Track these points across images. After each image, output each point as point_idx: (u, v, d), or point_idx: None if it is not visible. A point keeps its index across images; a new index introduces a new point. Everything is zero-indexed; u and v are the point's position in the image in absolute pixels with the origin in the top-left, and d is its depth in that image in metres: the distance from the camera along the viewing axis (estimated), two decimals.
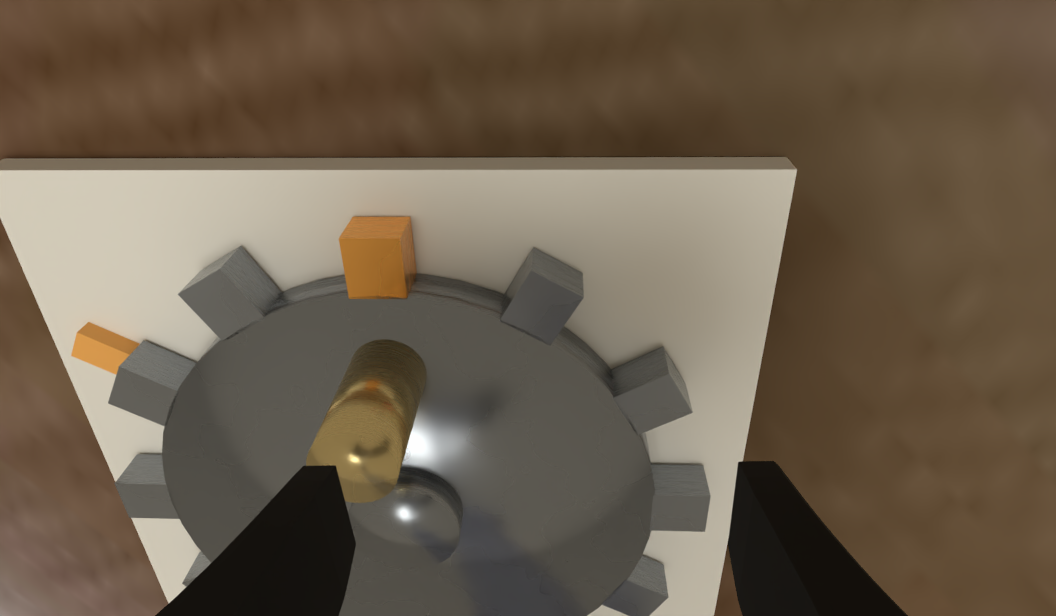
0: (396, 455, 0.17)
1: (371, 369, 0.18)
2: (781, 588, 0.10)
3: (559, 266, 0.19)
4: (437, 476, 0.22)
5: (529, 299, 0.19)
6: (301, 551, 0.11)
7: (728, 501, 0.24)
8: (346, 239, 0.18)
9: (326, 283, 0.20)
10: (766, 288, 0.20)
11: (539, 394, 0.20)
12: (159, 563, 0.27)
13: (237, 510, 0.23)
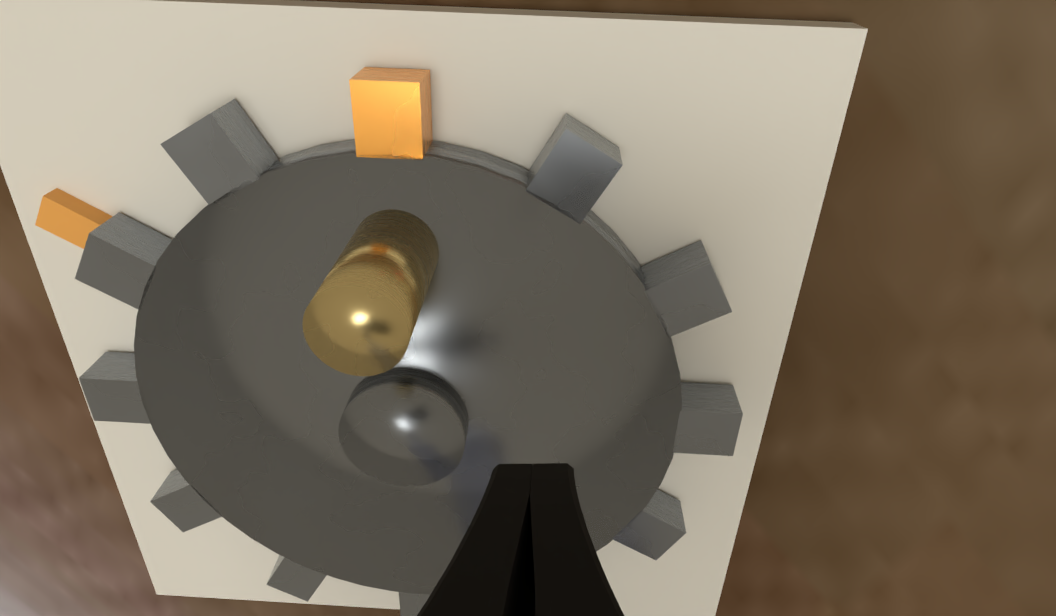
0: (407, 318, 0.14)
1: (379, 233, 0.16)
2: None
3: (594, 134, 0.17)
4: (442, 380, 0.20)
5: (561, 164, 0.17)
6: (524, 551, 0.11)
7: (756, 428, 0.22)
8: (358, 81, 0.16)
9: (330, 146, 0.18)
10: (820, 174, 0.18)
11: (563, 283, 0.18)
12: (125, 484, 0.25)
13: (216, 415, 0.21)
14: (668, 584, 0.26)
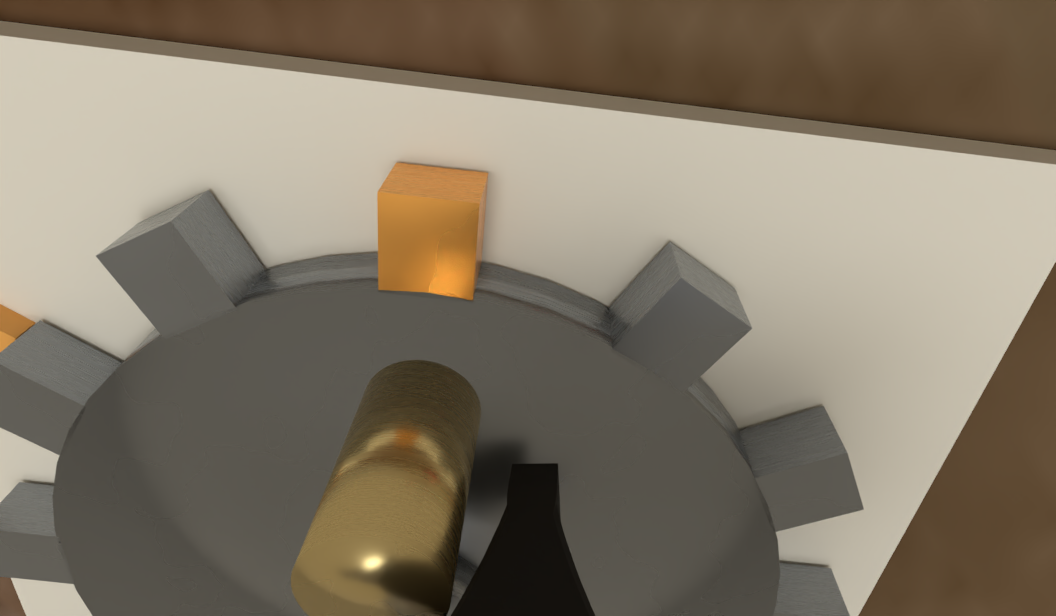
0: (450, 574, 0.10)
1: (407, 411, 0.11)
2: None
3: (708, 275, 0.12)
4: (467, 561, 0.15)
5: (667, 322, 0.12)
6: None
7: None
8: (390, 195, 0.11)
9: (339, 263, 0.13)
10: (997, 343, 0.13)
11: (645, 463, 0.13)
12: None
13: (162, 581, 0.16)
14: None
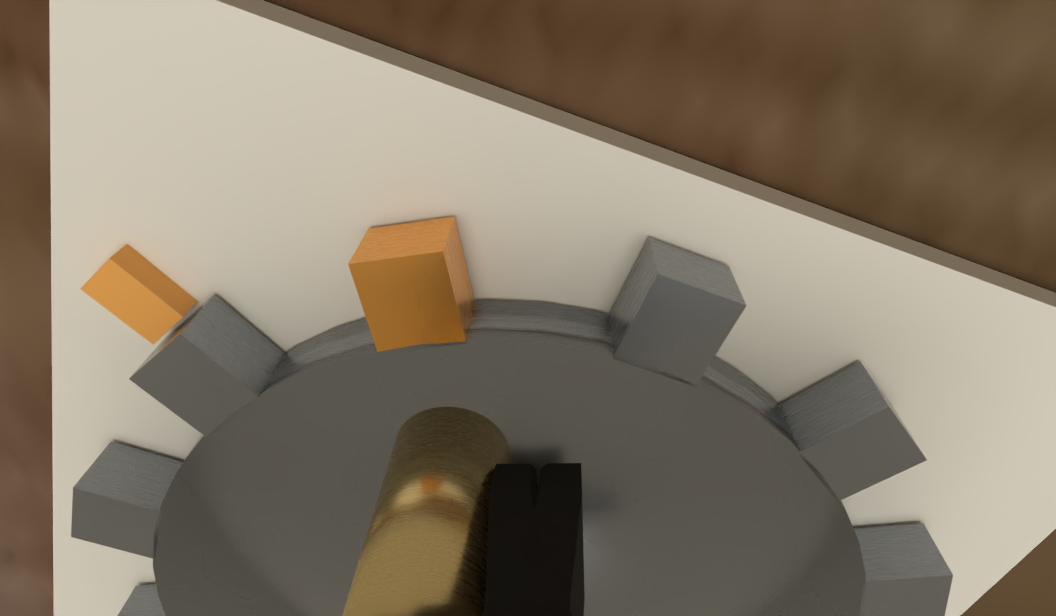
0: None
1: (425, 461, 0.12)
2: None
3: (694, 261, 0.12)
4: None
5: (658, 319, 0.12)
6: (579, 551, 0.11)
7: None
8: (360, 264, 0.11)
9: (344, 333, 0.13)
10: None
11: (683, 459, 0.13)
12: (66, 588, 0.18)
13: None
14: None
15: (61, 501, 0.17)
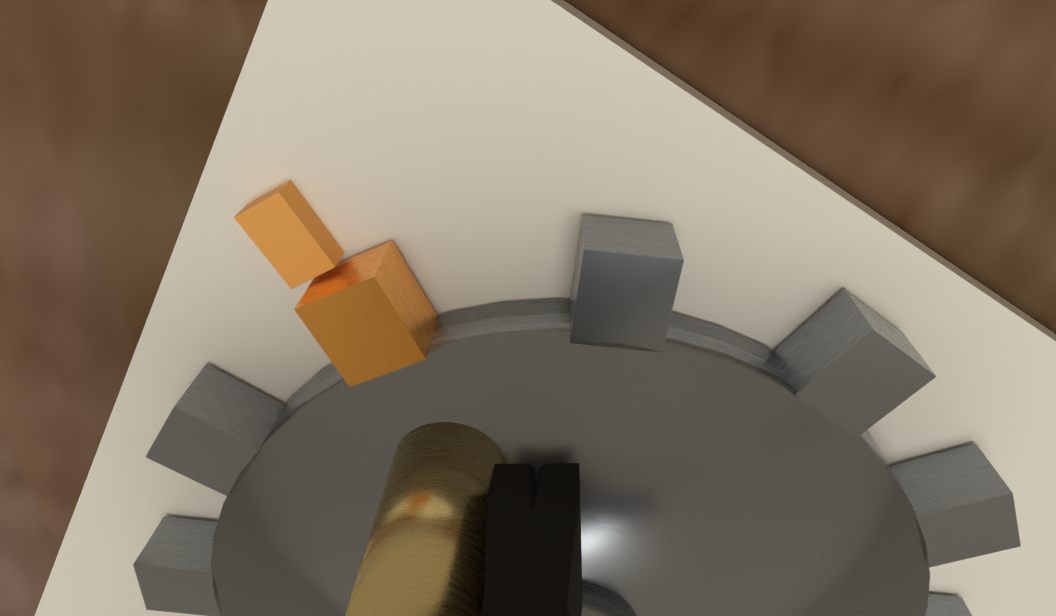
0: None
1: (408, 480, 0.12)
2: None
3: (630, 227, 0.12)
4: None
5: (601, 294, 0.11)
6: (576, 551, 0.11)
7: None
8: (305, 306, 0.12)
9: (326, 374, 0.14)
10: None
11: (676, 428, 0.13)
12: (85, 522, 0.17)
13: None
14: None
15: (114, 431, 0.16)
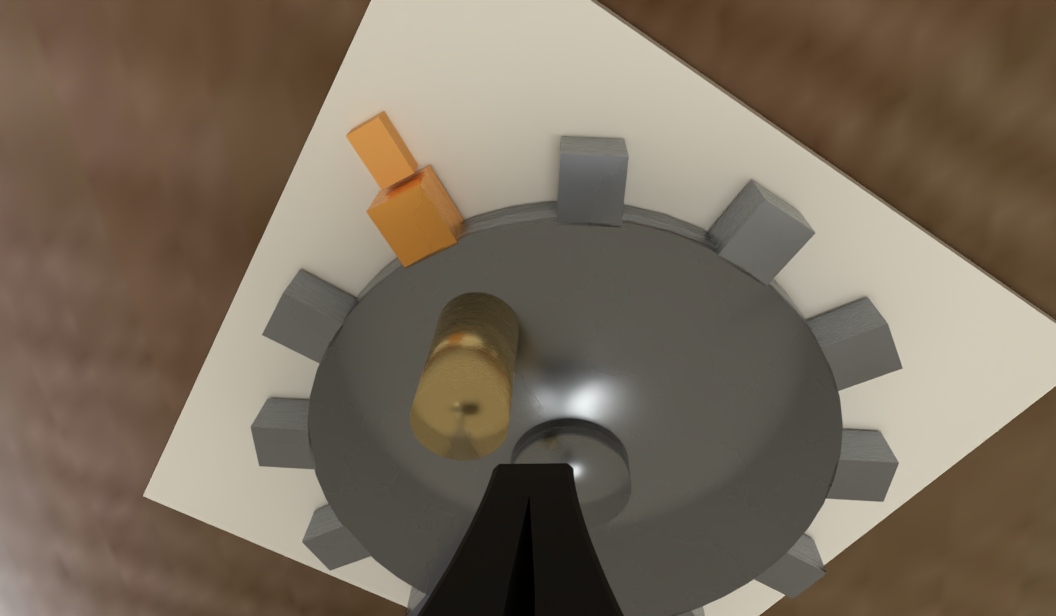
0: (495, 390, 0.15)
1: (450, 325, 0.17)
2: None
3: (594, 141, 0.17)
4: (580, 419, 0.20)
5: (574, 186, 0.17)
6: (524, 551, 0.11)
7: None
8: (373, 209, 0.17)
9: (386, 268, 0.19)
10: (992, 427, 0.22)
11: (637, 286, 0.18)
12: (204, 388, 0.22)
13: (416, 528, 0.23)
14: None
15: (236, 309, 0.21)
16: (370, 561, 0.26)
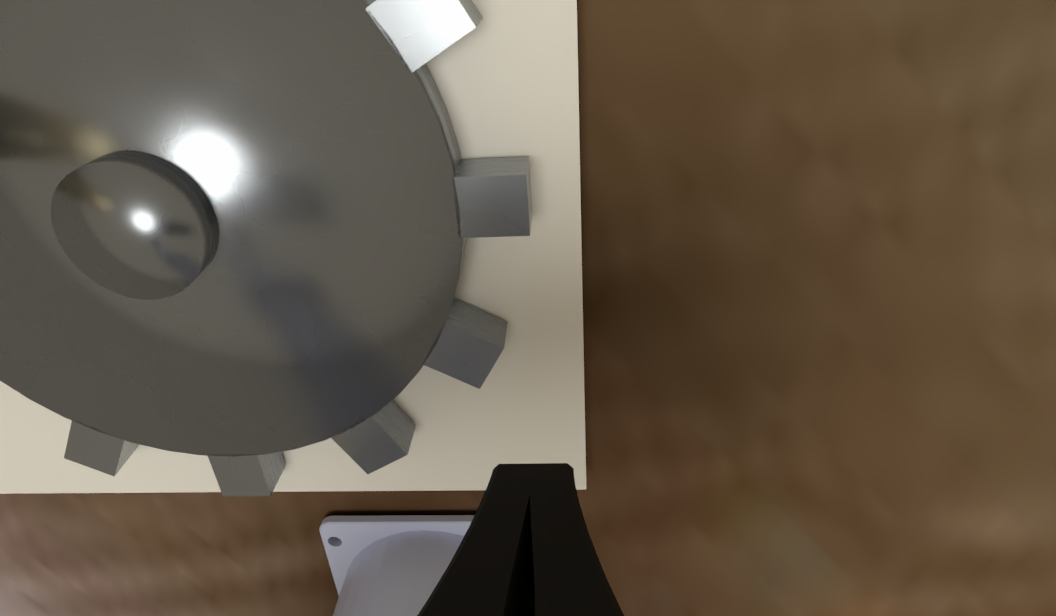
0: None
1: None
2: None
3: None
4: (99, 157, 0.17)
5: None
6: (524, 551, 0.11)
7: (572, 215, 0.19)
8: None
9: None
10: None
11: None
12: None
13: (121, 385, 0.21)
14: (523, 435, 0.23)
15: None
16: (185, 458, 0.24)
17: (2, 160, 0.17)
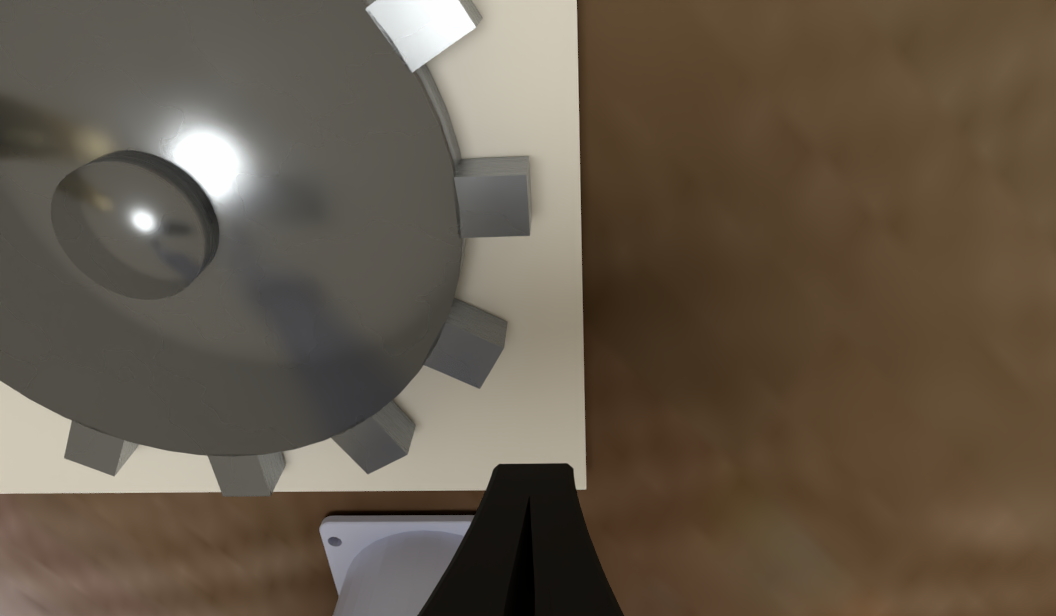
0: None
1: None
2: None
3: None
4: (99, 157, 0.17)
5: None
6: (524, 551, 0.11)
7: (572, 215, 0.19)
8: None
9: None
10: None
11: None
12: None
13: (121, 385, 0.21)
14: (523, 435, 0.23)
15: None
16: (185, 458, 0.24)
17: (2, 160, 0.17)
